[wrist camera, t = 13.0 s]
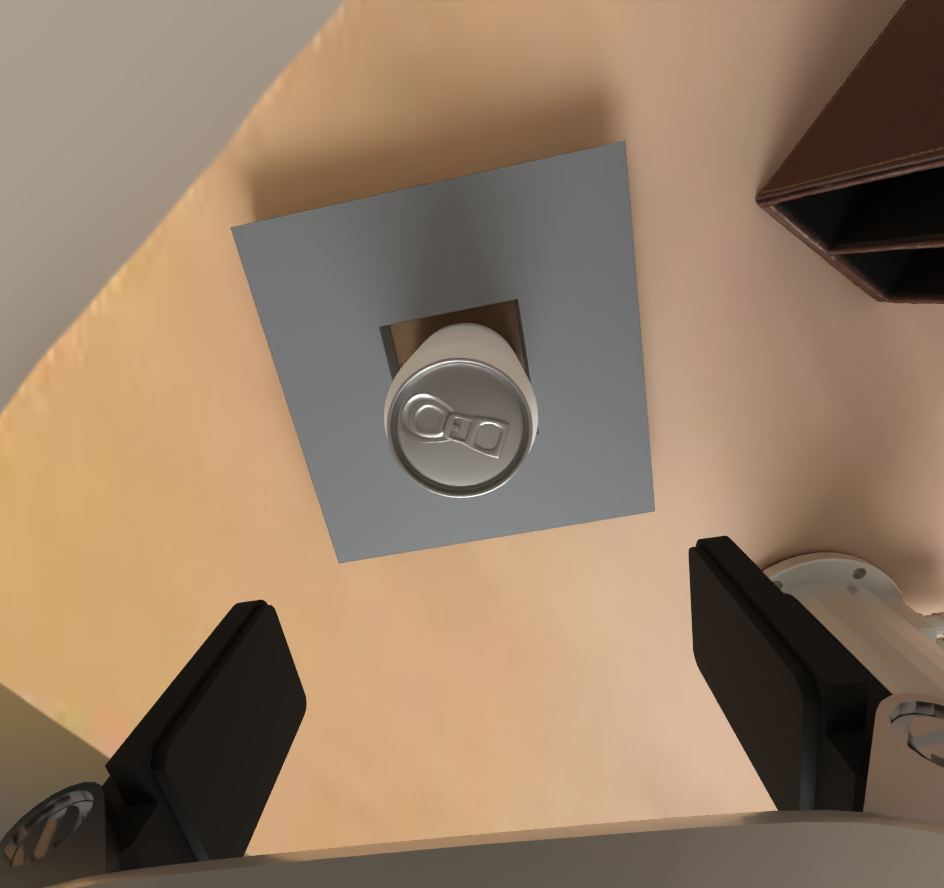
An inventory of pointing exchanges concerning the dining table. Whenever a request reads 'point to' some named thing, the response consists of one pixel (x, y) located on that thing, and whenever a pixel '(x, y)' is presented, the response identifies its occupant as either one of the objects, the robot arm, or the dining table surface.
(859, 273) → the letter holder
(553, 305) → the socket block
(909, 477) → the dining table surface
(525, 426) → the can
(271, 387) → the dining table surface
